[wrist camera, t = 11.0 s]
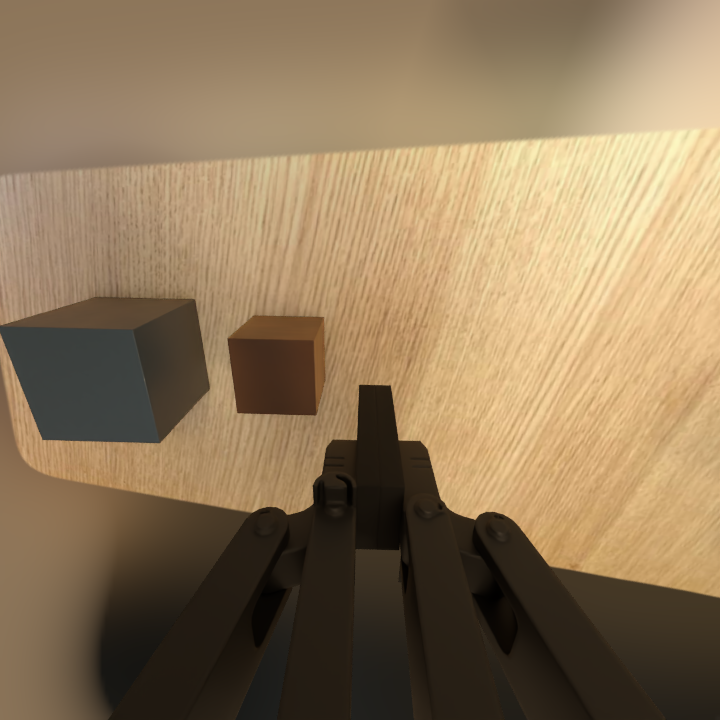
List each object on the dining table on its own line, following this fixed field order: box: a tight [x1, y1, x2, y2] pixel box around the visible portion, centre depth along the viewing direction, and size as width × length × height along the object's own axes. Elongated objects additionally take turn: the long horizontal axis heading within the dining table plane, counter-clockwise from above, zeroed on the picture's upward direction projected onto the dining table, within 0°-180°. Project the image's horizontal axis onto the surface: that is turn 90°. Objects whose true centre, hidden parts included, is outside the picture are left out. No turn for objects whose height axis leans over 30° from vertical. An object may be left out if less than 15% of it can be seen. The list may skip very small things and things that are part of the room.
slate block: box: [0, 297, 209, 443], centre depth 22 cm, size 7×7×7 cm
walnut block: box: [228, 316, 325, 415], centre depth 23 cm, size 5×5×5 cm
